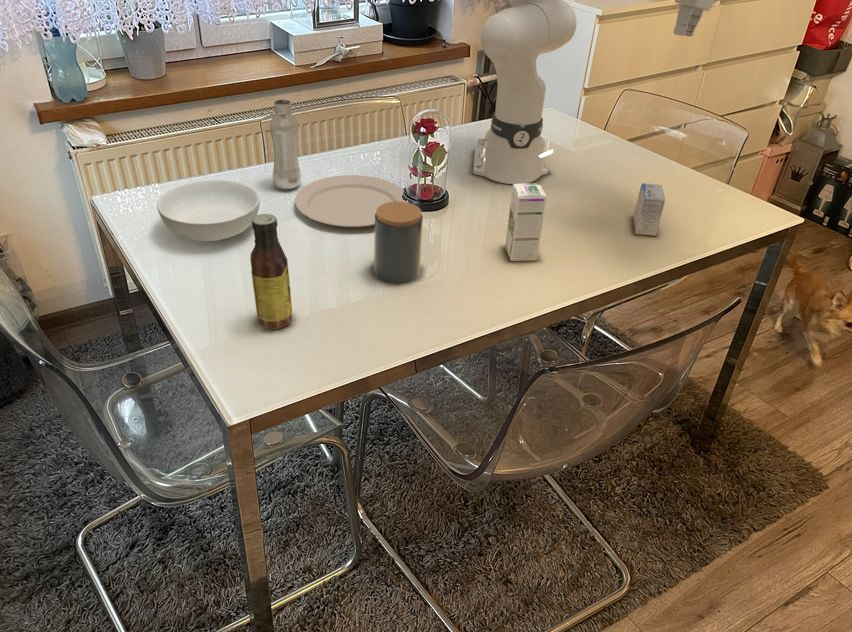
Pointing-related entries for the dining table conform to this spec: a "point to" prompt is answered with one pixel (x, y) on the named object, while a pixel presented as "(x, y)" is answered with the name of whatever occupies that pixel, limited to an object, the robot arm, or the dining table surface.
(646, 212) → the medicine box
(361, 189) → the plate
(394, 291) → the dining table surface
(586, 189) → the dining table surface
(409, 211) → the canister
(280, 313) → the sauce bottle
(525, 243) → the syrup box
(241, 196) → the serving bowl
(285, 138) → the plastic bottle
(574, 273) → the dining table surface
